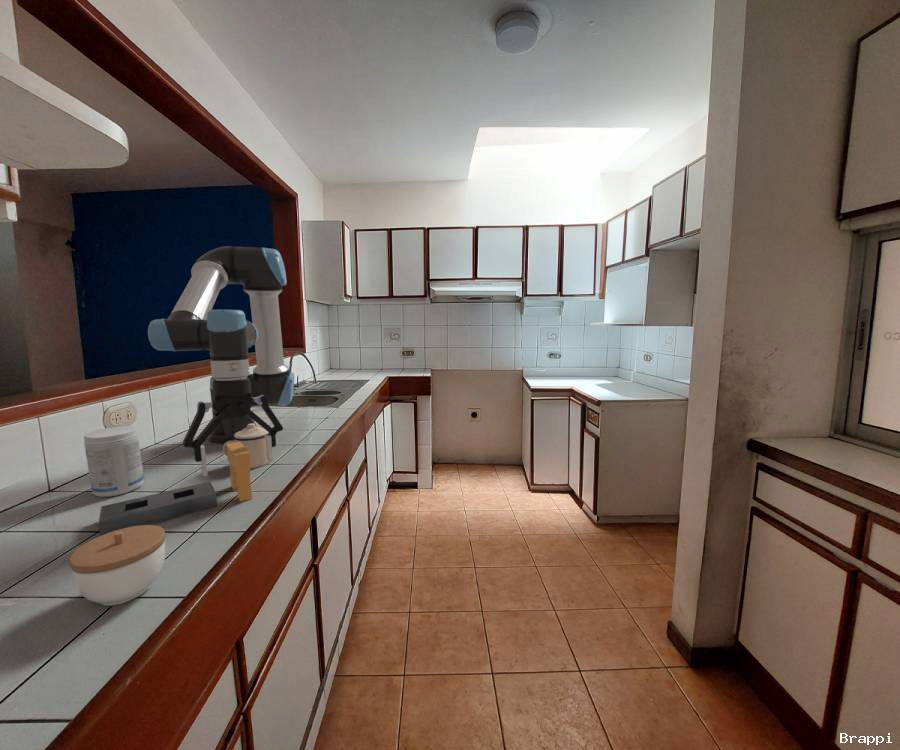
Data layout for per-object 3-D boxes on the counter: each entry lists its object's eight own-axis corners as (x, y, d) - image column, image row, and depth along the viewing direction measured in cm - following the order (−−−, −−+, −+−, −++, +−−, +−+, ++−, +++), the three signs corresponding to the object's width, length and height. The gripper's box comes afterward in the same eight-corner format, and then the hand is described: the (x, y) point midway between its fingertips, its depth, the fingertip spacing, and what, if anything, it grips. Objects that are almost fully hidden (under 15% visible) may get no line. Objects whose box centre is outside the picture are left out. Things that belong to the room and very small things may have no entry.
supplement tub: (136, 478, 98) (129, 423, 96) (151, 486, 93) (144, 429, 91) (86, 492, 90) (77, 432, 88) (99, 502, 85) (90, 439, 83)
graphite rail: (103, 520, 77) (101, 506, 77) (211, 493, 89) (210, 481, 89) (100, 537, 71) (98, 522, 70) (217, 505, 83) (216, 492, 82)
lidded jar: (107, 573, 61) (100, 519, 59) (182, 563, 63) (176, 511, 62) (55, 625, 50) (44, 560, 49) (147, 611, 53) (139, 549, 51)
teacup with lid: (272, 456, 114) (270, 418, 112) (269, 466, 105) (267, 426, 104) (227, 461, 110) (224, 422, 108) (220, 472, 101) (217, 431, 99)
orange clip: (229, 486, 92) (226, 444, 91) (243, 483, 94) (239, 441, 93) (238, 502, 85) (234, 455, 83) (253, 498, 86) (249, 452, 85)
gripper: (164, 385, 75) (174, 486, 78) (293, 374, 91) (298, 459, 93) (162, 381, 81) (172, 475, 83) (283, 372, 96) (288, 451, 99)
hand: (238, 467), depth 88 cm, fingers open, 13 cm apart
